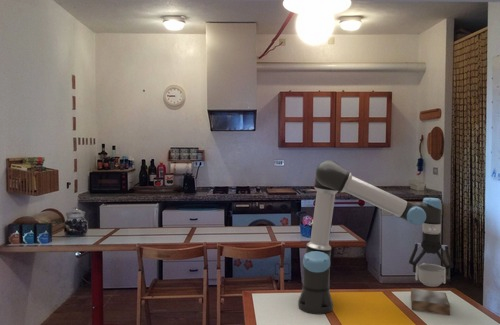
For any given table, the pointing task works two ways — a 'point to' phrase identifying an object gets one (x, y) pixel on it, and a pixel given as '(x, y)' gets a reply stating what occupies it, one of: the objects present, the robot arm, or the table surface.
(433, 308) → the walnut riser
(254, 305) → the table surface
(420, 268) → the teacup
